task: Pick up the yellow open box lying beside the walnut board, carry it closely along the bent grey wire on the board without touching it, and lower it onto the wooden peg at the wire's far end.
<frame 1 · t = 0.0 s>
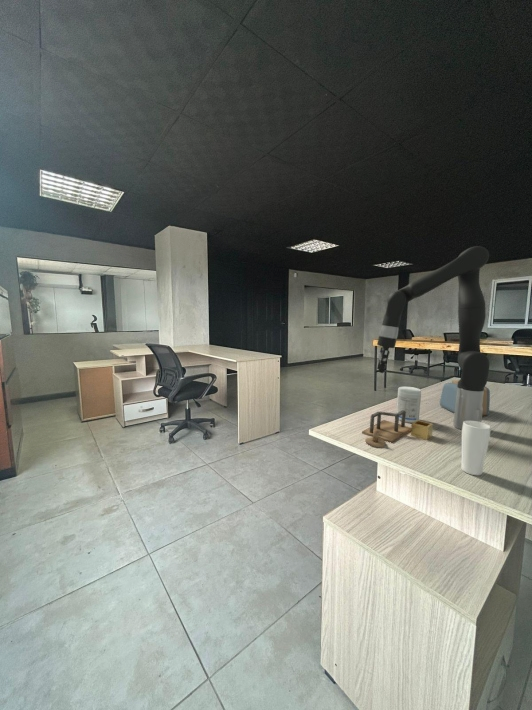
hand: (380, 371, 130), 22 cm above the table, tool pointing down, fingers open, 8 cm apart
yellow open box: (421, 435, 113), on the table
end peg: (375, 443, 105), on the table
wire board: (387, 431, 117), on the table
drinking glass: (471, 472, 86), on the table
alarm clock: (462, 411, 146), on the table
supplement tub: (407, 420, 131), on the table
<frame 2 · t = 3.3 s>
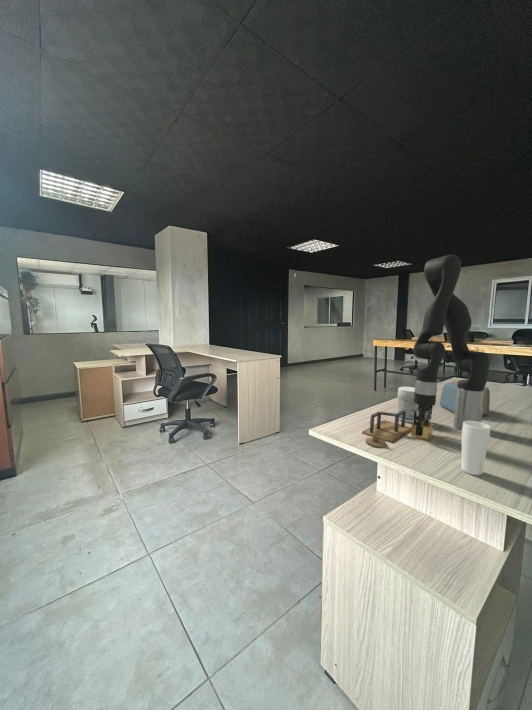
hand: (421, 432, 113), 1 cm above the table, tool pointing down, fingers closed on yellow open box, 6 cm apart
yellow open box: (421, 435, 113), on the table, touching gripper
everything else where it was.
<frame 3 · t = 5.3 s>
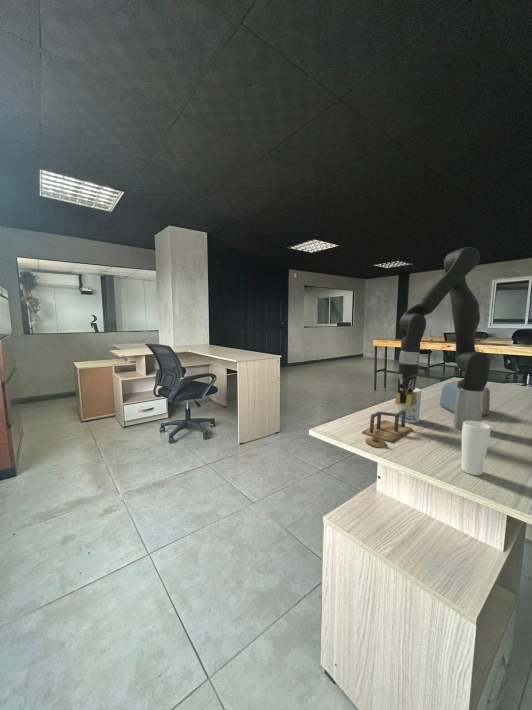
hand: (405, 401, 119), 12 cm above the table, tool pointing down, fingers closed on yellow open box, 6 cm apart
yellow open box: (405, 404, 119), point 11 cm above the table, touching gripper
everything else where it was.
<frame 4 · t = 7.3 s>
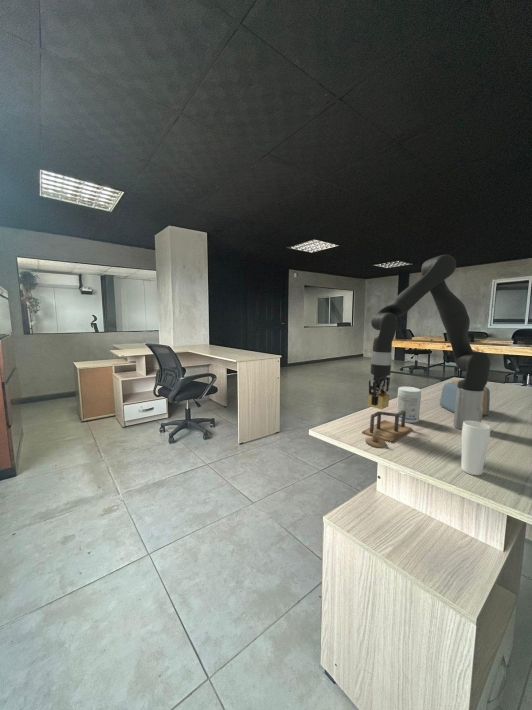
hand: (378, 403, 116), 12 cm above the table, tool pointing down, fingers closed on yellow open box, 6 cm apart
yellow open box: (377, 406, 116), point 11 cm above the table, touching gripper
everything else where it was.
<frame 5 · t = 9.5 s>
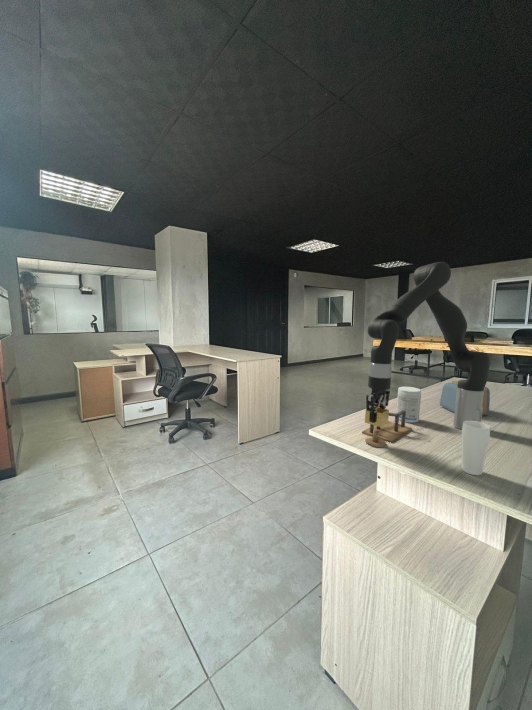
hand: (376, 419, 104), 9 cm above the table, tool pointing down, fingers closed on yellow open box, 6 cm apart
yellow open box: (376, 422, 104), point 8 cm above the table, touching gripper
everything else where it was.
when the fingers open (3 cm above the table, at t = 11.3 s): yellow open box drops 1 cm, resting on end peg.
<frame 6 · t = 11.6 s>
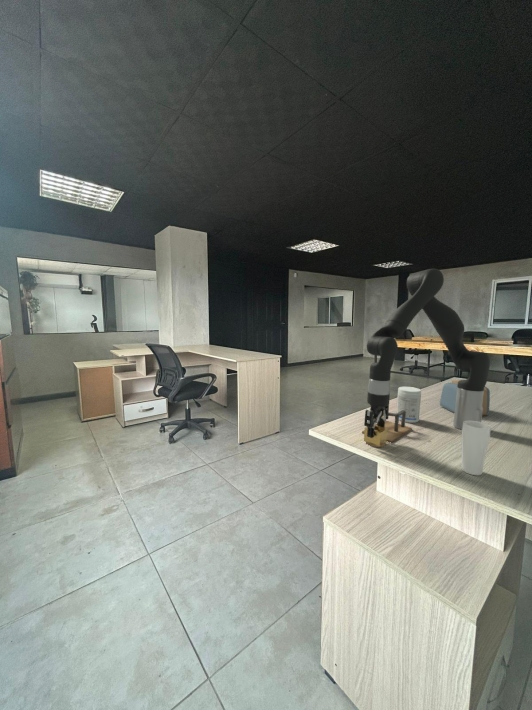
hand: (375, 434, 105), 4 cm above the table, tool pointing down, fingers open, 8 cm apart
yellow open box: (375, 441, 105), point 1 cm above the table, touching end peg
everything else where it was.
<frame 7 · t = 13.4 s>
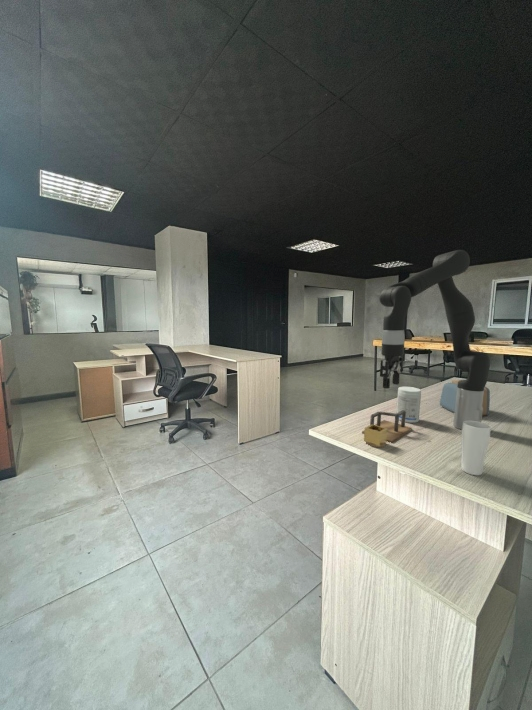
hand: (391, 386, 105), 21 cm above the table, tool pointing down, fingers open, 8 cm apart
nothing on the table moved.
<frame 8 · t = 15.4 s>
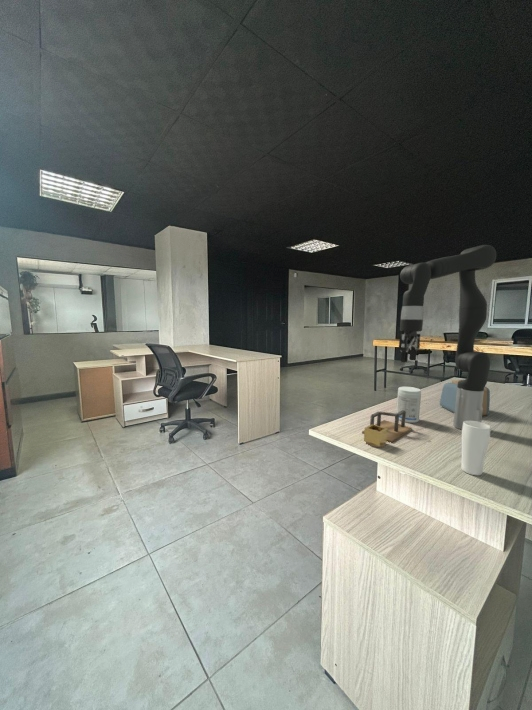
hand: (408, 361, 109), 30 cm above the table, tool pointing down, fingers open, 8 cm apart
nothing on the table moved.
at the end: yellow open box 0.0 cm off-centre on the end peg, point 0.8 cm above the end peg's base; yellow open box tilted 0°; yellow open box touching end peg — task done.
